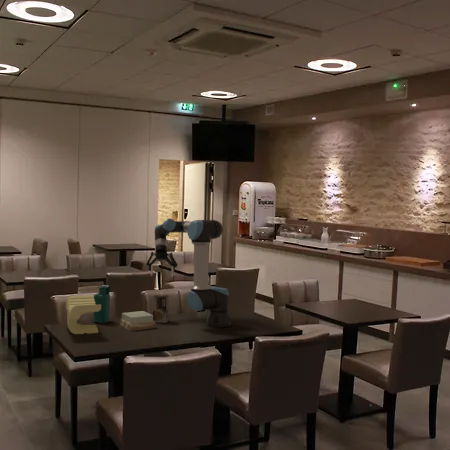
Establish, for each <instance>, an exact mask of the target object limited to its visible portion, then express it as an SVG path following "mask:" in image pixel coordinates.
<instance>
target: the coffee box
mask: <svg viewBox="0 0 450 450" xmlns="http://www.w3.org/2000/svg"><path fill="white" fill-rule="evenodd" d="M152 315H153V321H154V322H156V323H162V324H163V323H164V324H165V323H168V321H169V295H167V294H166V295H165V294H164V295H163V294H162V295H161V294H156V295H154V296H152Z"/></svg>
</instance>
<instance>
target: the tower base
mask: <svg viewBox="0 0 450 450" xmlns="http://www.w3.org/2000/svg"><path fill="white" fill-rule="evenodd" d="M156 323H157V322H154V321H153V322H148V323H139V324H130V323H128V322H125V321H123V320H122V318H120V319H119V326H121V327H122V326H123V328H124V329H125V330H128V331H131V332H133V331H139V330H140V331H141V330H147V329H155V328H156Z"/></svg>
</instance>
